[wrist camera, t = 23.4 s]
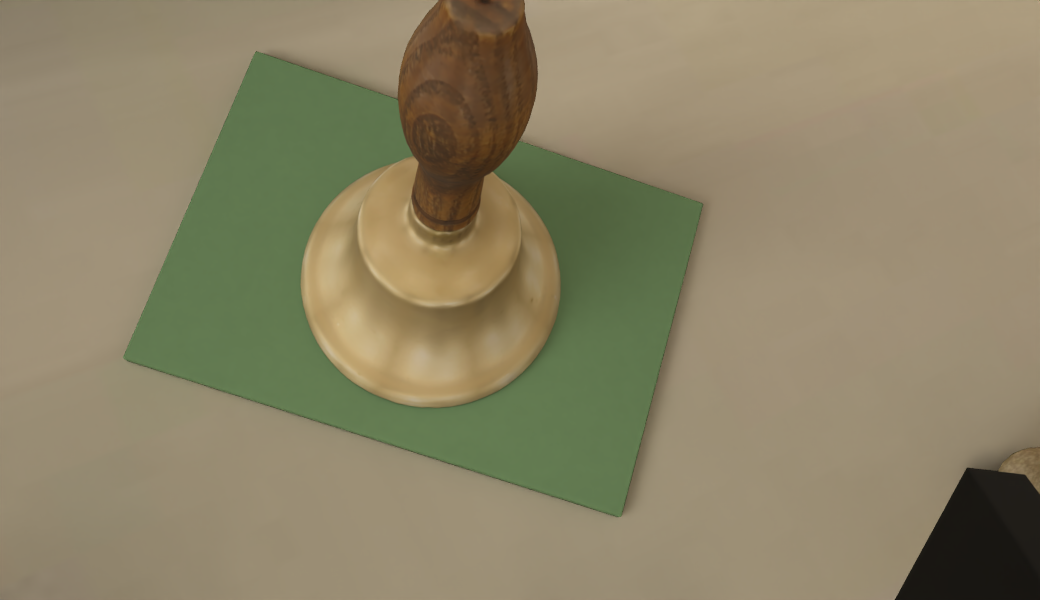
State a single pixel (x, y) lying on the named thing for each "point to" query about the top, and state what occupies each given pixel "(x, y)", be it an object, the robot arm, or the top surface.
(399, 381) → the hand bell
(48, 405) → the top surface
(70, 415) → the top surface
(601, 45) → the top surface
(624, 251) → the cloth
